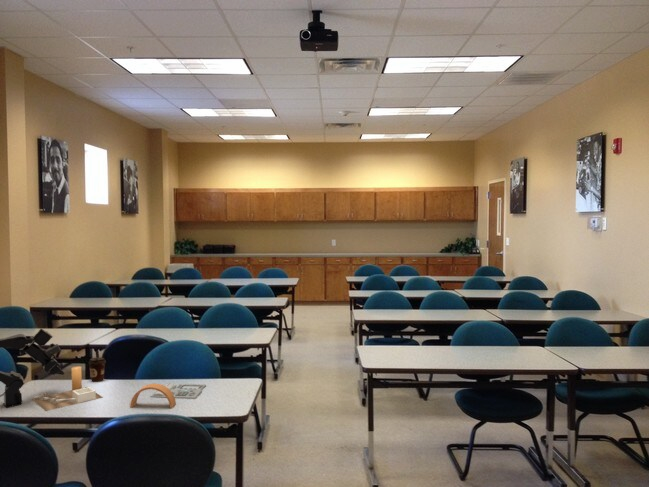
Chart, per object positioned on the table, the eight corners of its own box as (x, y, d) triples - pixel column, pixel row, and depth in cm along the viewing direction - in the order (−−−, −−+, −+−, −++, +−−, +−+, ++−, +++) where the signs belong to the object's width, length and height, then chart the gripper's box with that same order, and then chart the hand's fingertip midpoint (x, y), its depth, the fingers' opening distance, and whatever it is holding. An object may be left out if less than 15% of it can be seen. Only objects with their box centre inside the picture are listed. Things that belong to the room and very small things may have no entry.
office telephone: (149, 393, 258) (165, 381, 278) (149, 398, 258) (166, 385, 278) (195, 394, 255) (208, 381, 275) (195, 400, 255) (208, 386, 275)
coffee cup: (93, 385, 276) (93, 361, 275) (85, 382, 281) (85, 359, 280) (109, 381, 283) (108, 358, 282) (100, 378, 288) (100, 355, 287)
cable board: (45, 413, 237) (45, 405, 237) (31, 401, 253) (31, 394, 252) (103, 399, 255) (103, 392, 255) (87, 388, 271) (86, 382, 270)
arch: (135, 403, 250) (134, 383, 249) (175, 404, 249) (175, 383, 248) (130, 407, 244) (129, 387, 243) (171, 408, 243) (171, 387, 243)
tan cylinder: (73, 394, 260) (73, 369, 259) (70, 391, 263) (70, 367, 262) (83, 391, 263) (82, 367, 262) (80, 389, 266) (79, 365, 265)
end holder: (78, 403, 247) (78, 394, 247) (72, 398, 253) (72, 390, 253) (95, 398, 253) (95, 390, 252) (89, 394, 259) (89, 387, 258)
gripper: (51, 343, 247) (77, 363, 254) (48, 336, 263) (72, 354, 270) (32, 362, 244) (59, 381, 250) (30, 353, 259) (56, 371, 266)
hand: (62, 371), depth 259 cm, fingers open, 9 cm apart
